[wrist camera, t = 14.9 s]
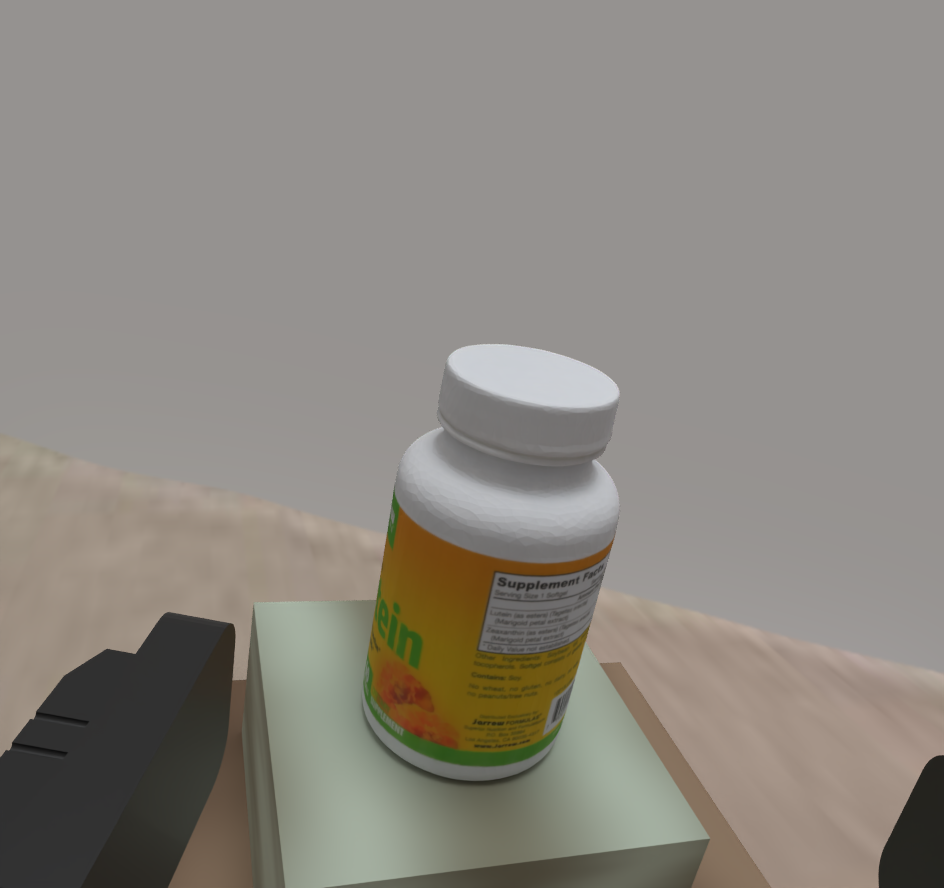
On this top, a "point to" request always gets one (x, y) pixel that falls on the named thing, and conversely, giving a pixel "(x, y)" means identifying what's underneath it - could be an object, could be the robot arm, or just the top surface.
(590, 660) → the pedestal
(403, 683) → the supplement bottle
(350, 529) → the top surface
